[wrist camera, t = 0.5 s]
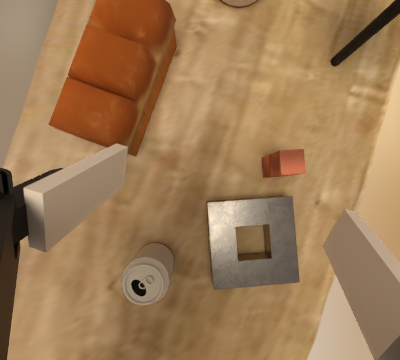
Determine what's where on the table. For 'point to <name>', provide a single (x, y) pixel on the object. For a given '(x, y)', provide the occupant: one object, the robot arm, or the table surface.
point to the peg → (284, 163)
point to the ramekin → (238, 2)
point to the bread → (117, 72)
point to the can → (148, 274)
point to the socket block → (257, 262)
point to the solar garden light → (368, 32)
